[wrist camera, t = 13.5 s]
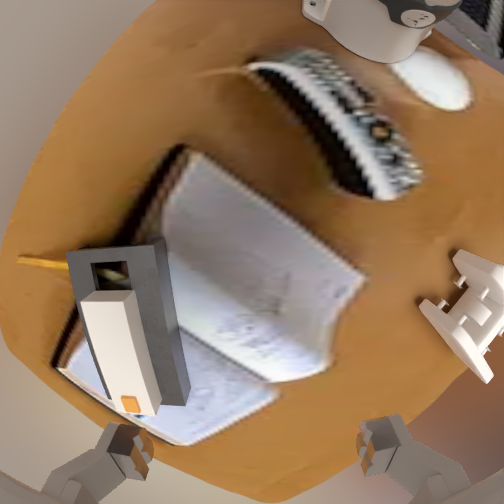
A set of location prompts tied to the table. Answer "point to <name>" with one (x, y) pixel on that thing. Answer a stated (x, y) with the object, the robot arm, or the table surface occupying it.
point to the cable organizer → (472, 312)
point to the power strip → (122, 350)
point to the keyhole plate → (140, 308)
